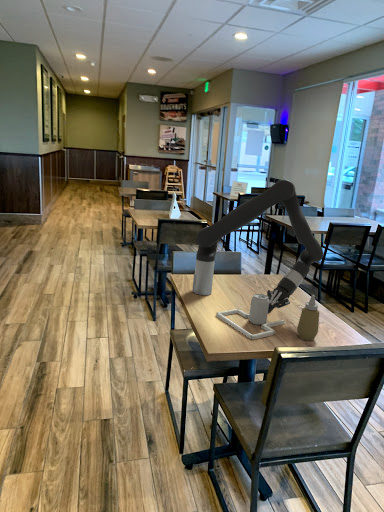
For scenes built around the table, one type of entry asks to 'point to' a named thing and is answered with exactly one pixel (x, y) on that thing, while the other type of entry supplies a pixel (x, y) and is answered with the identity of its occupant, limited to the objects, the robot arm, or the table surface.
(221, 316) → the t outline
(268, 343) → the table surface
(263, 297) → the can
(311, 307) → the squeeze bottle
